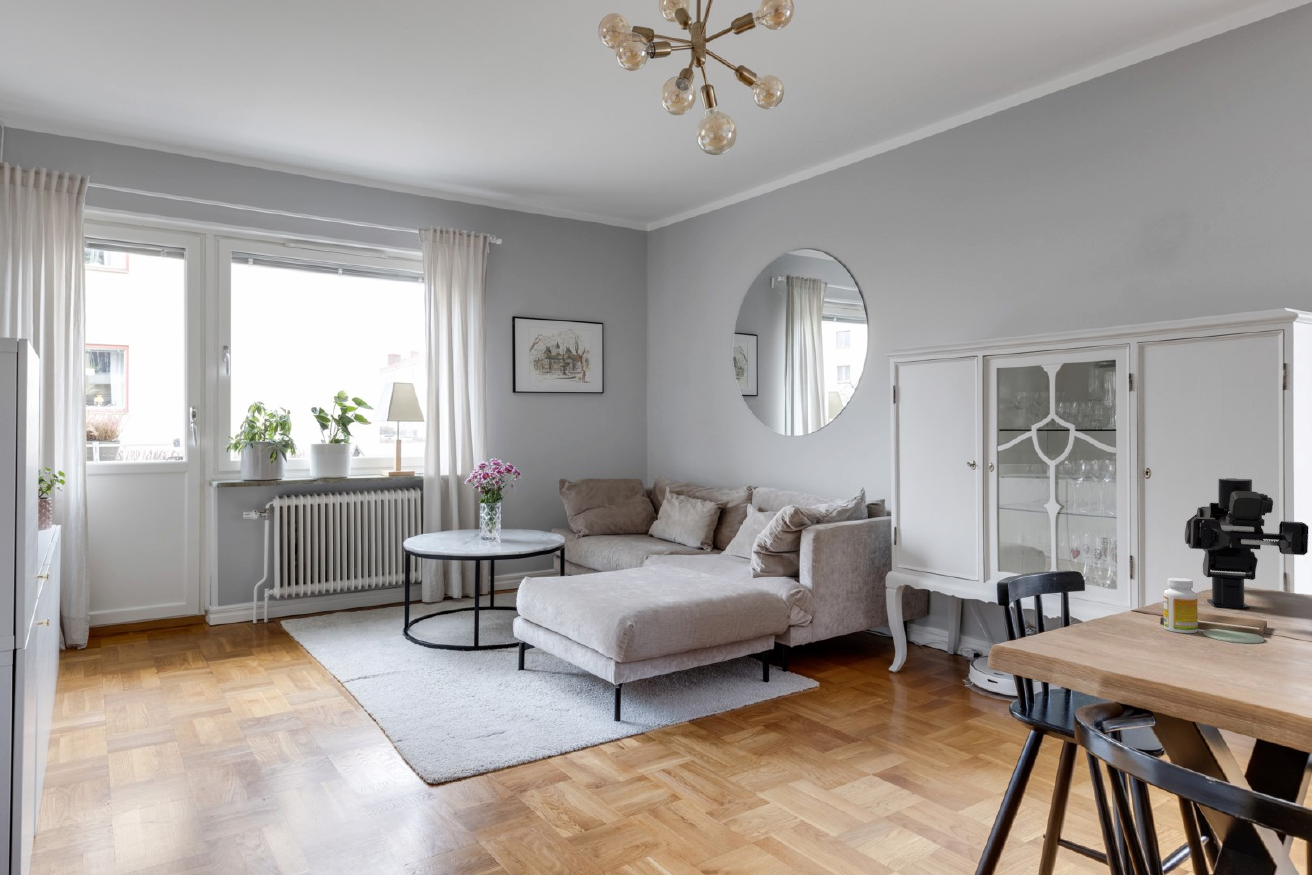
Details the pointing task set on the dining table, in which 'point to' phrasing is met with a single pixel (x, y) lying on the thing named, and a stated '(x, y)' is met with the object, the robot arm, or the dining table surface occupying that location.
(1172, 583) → the supplement bottle
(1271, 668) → the dining table surface
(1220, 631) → the end pad
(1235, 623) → the walnut board
